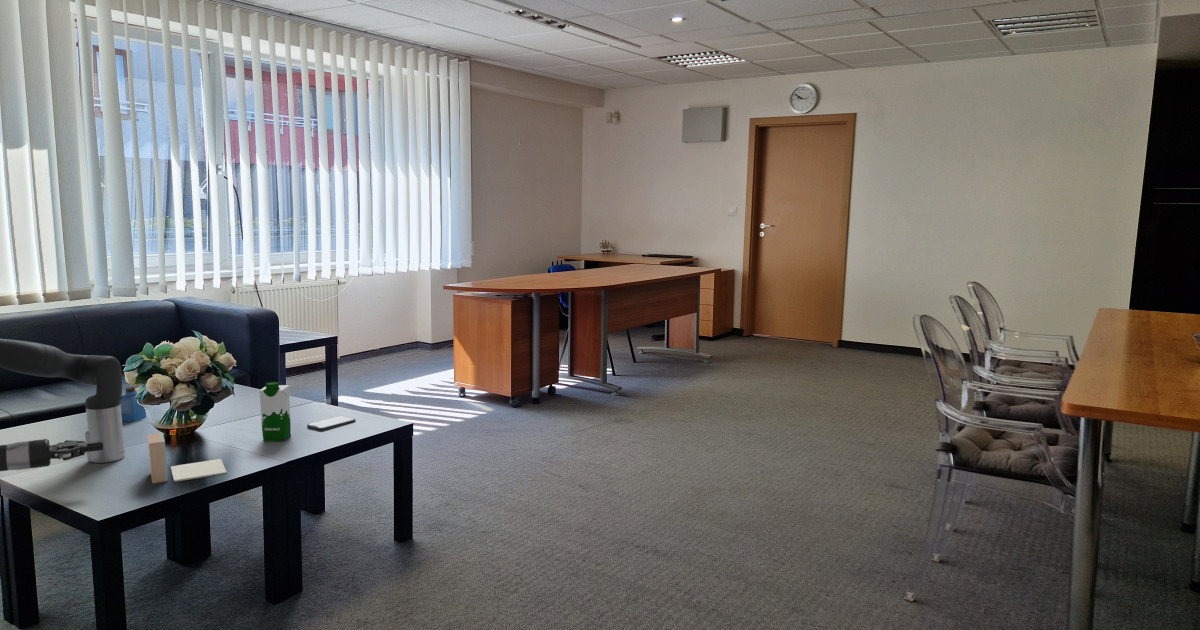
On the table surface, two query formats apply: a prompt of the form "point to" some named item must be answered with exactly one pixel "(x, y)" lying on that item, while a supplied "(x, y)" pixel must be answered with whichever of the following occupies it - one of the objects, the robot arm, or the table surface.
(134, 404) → the perfume bottle
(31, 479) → the table surface
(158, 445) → the beige rectangular block
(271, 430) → the milk carton
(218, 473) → the felt mat
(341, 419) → the phone case
